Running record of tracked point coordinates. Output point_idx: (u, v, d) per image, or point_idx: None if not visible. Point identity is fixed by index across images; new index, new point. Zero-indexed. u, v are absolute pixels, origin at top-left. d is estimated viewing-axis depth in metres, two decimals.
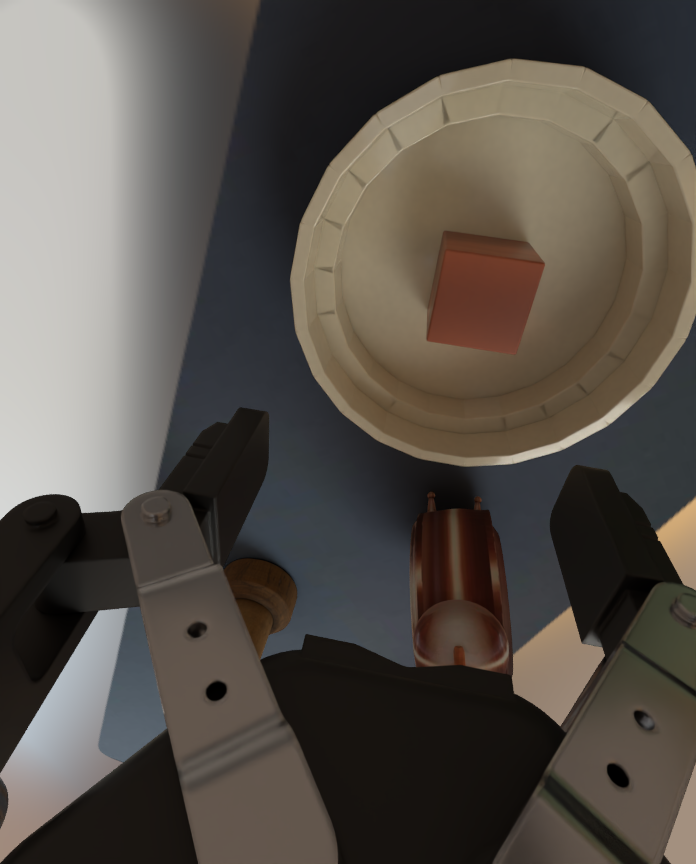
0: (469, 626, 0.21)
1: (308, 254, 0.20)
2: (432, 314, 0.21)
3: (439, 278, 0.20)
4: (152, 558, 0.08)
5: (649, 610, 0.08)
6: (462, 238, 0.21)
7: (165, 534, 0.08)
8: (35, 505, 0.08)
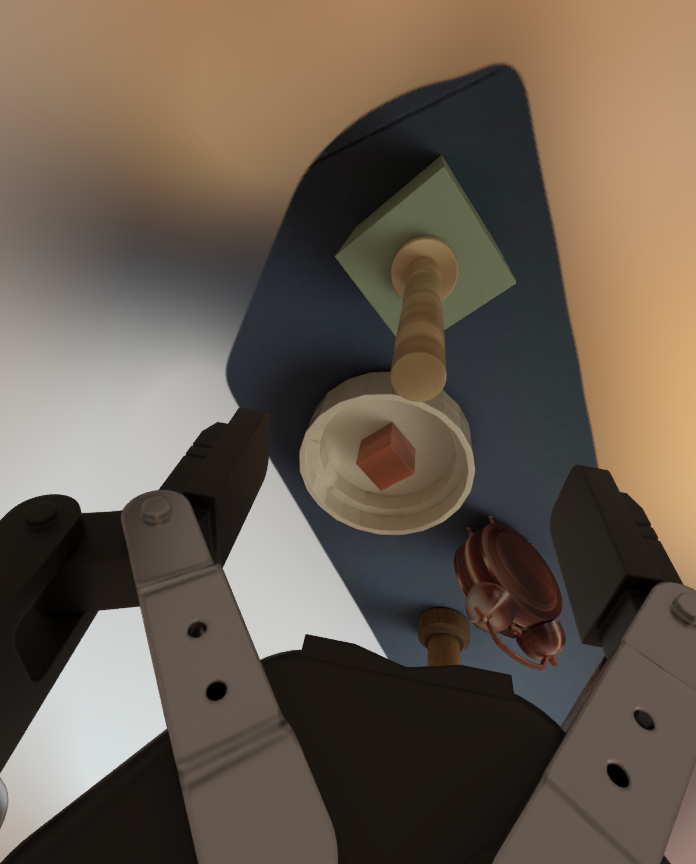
0: (477, 596, 0.43)
1: (317, 495, 0.48)
2: (373, 482, 0.46)
3: None
4: (152, 558, 0.08)
5: (649, 610, 0.08)
6: (365, 444, 0.47)
7: (165, 534, 0.08)
8: (34, 506, 0.08)
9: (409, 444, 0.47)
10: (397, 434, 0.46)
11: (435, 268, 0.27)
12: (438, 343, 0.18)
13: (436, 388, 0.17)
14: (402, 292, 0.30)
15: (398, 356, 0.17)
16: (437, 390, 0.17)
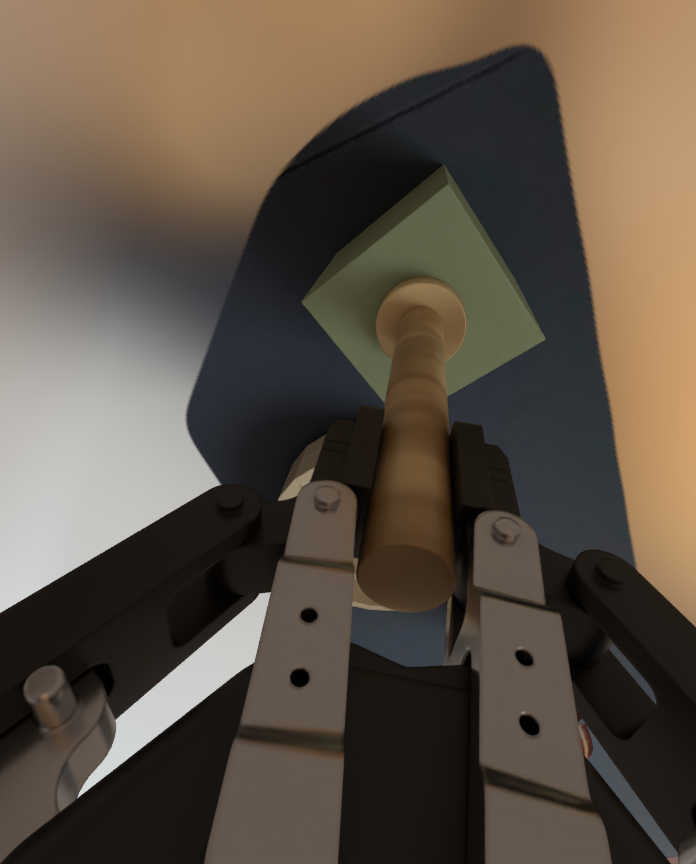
0: None
1: None
2: None
3: None
4: (340, 542, 0.09)
5: (480, 546, 0.09)
6: None
7: (325, 522, 0.09)
8: (228, 492, 0.09)
9: None
10: None
11: (436, 326, 0.19)
12: (442, 506, 0.10)
13: (438, 597, 0.10)
14: (391, 351, 0.22)
15: (370, 543, 0.10)
16: (440, 600, 0.10)
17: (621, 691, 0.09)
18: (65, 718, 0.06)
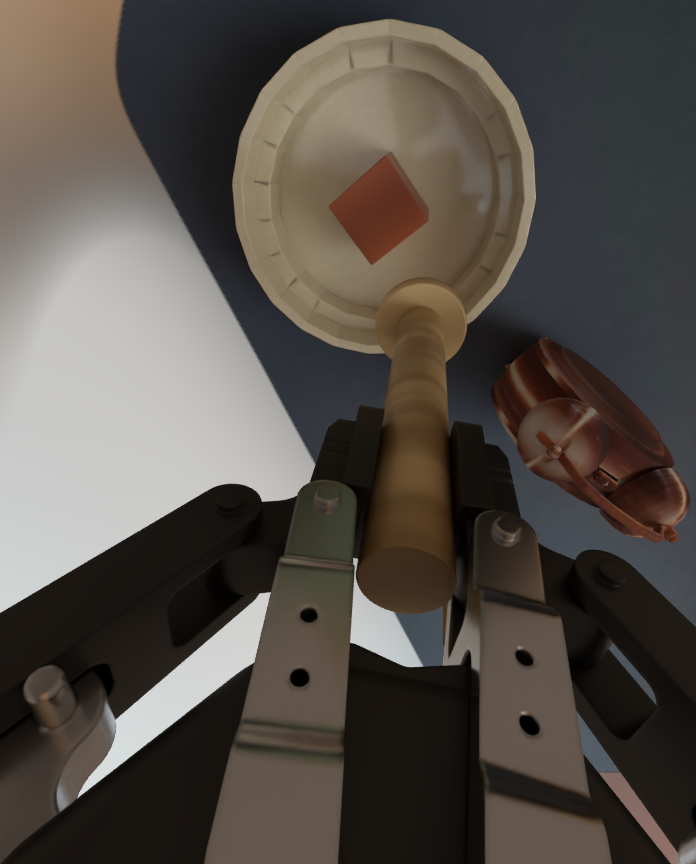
0: (540, 415, 0.24)
1: (268, 281, 0.29)
2: (358, 247, 0.28)
3: (342, 224, 0.27)
4: (340, 542, 0.09)
5: (480, 546, 0.09)
6: None
7: (325, 522, 0.09)
8: (228, 492, 0.09)
9: (418, 194, 0.29)
10: (399, 166, 0.28)
11: (435, 326, 0.19)
12: (442, 508, 0.10)
13: (438, 599, 0.10)
14: (391, 351, 0.22)
15: (370, 545, 0.10)
16: (440, 601, 0.10)
17: (621, 691, 0.09)
18: (65, 718, 0.06)
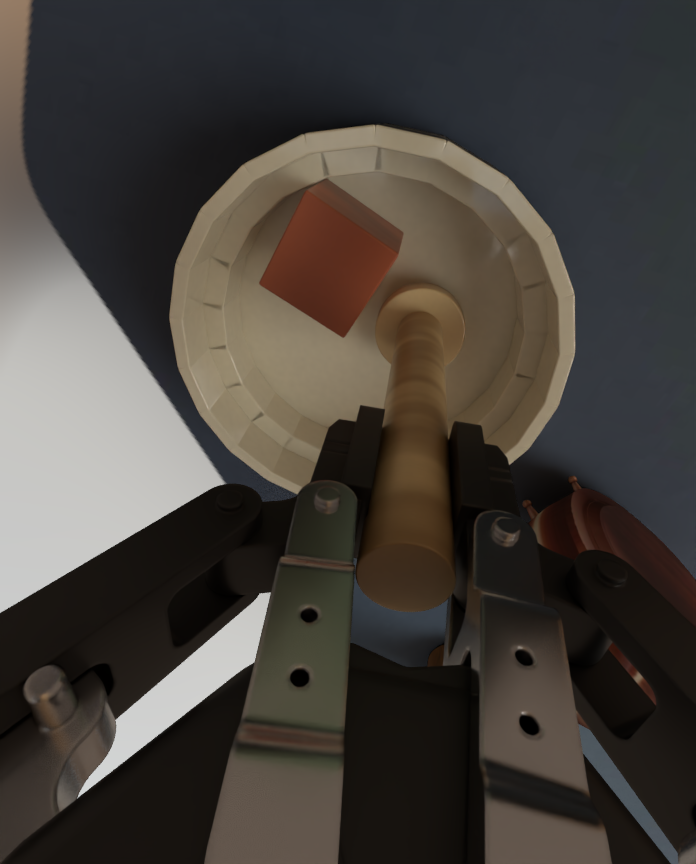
0: None
1: (223, 427, 0.23)
2: (317, 321, 0.19)
3: (285, 300, 0.19)
4: (341, 542, 0.09)
5: (480, 545, 0.09)
6: None
7: (325, 522, 0.09)
8: (228, 492, 0.09)
9: (382, 219, 0.20)
10: (340, 194, 0.19)
11: (434, 330, 0.19)
12: (440, 505, 0.10)
13: (438, 596, 0.10)
14: (391, 356, 0.22)
15: (368, 542, 0.10)
16: (440, 598, 0.10)
17: (621, 691, 0.09)
18: (65, 718, 0.06)
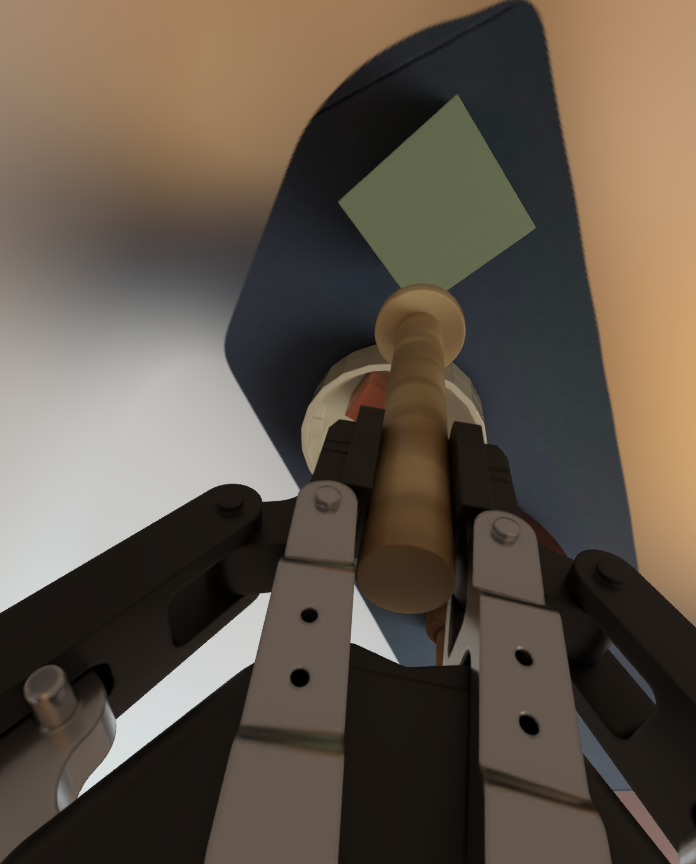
0: None
1: None
2: None
3: None
4: (341, 541, 0.09)
5: (480, 545, 0.09)
6: (353, 394, 0.43)
7: (325, 522, 0.09)
8: (229, 492, 0.09)
9: None
10: (381, 372, 0.42)
11: (434, 331, 0.19)
12: (440, 507, 0.10)
13: (438, 598, 0.10)
14: (391, 357, 0.22)
15: (368, 544, 0.10)
16: (440, 600, 0.10)
17: (621, 691, 0.09)
18: (66, 718, 0.06)
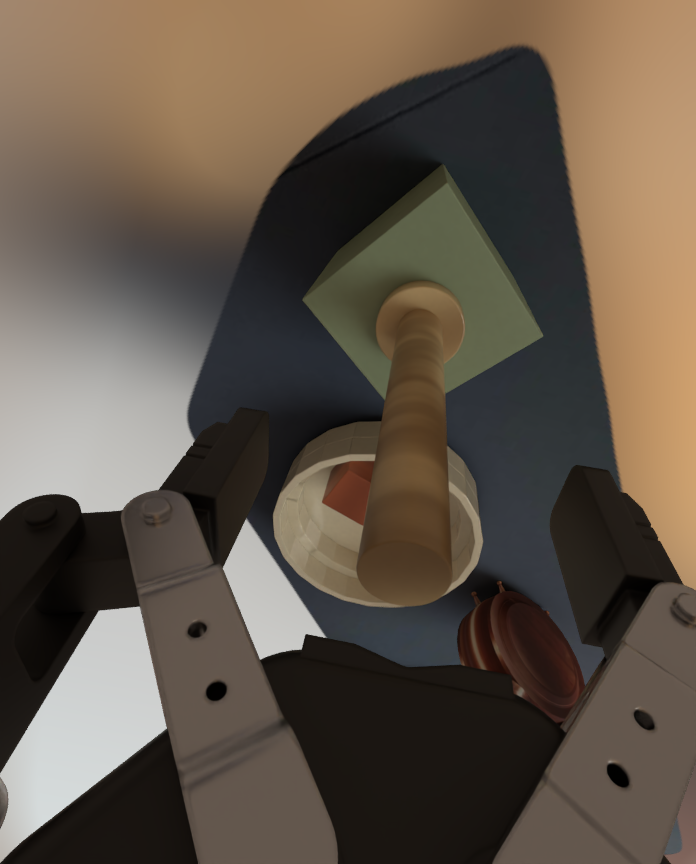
0: None
1: (296, 563, 0.40)
2: (351, 519, 0.37)
3: (334, 509, 0.37)
4: (152, 558, 0.08)
5: (649, 610, 0.08)
6: (332, 475, 0.38)
7: (165, 534, 0.08)
8: (34, 506, 0.08)
9: None
10: None
11: (434, 328, 0.20)
12: (438, 504, 0.11)
13: (436, 591, 0.10)
14: (391, 354, 0.22)
15: (369, 540, 0.10)
16: (437, 593, 0.10)
17: None
18: None
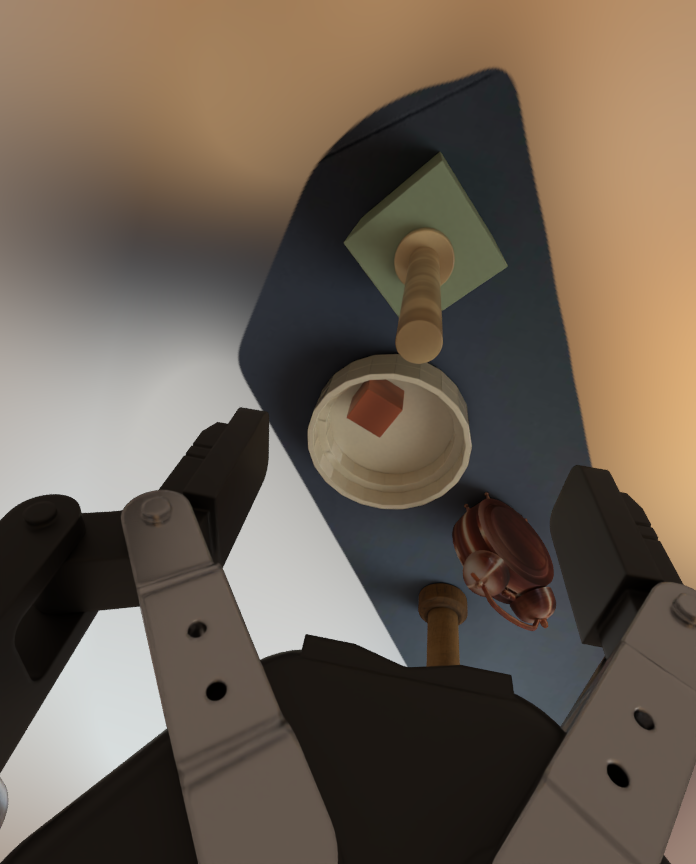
0: (473, 562, 0.46)
1: (324, 471, 0.51)
2: (369, 431, 0.48)
3: (356, 423, 0.48)
4: (152, 558, 0.08)
5: (649, 610, 0.08)
6: (354, 399, 0.49)
7: (164, 534, 0.08)
8: (34, 506, 0.08)
9: (395, 387, 0.49)
10: (378, 380, 0.48)
11: (433, 256, 0.30)
12: (435, 314, 0.21)
13: (434, 351, 0.21)
14: (405, 279, 0.33)
15: (402, 325, 0.20)
16: (435, 353, 0.21)
17: None
18: None
